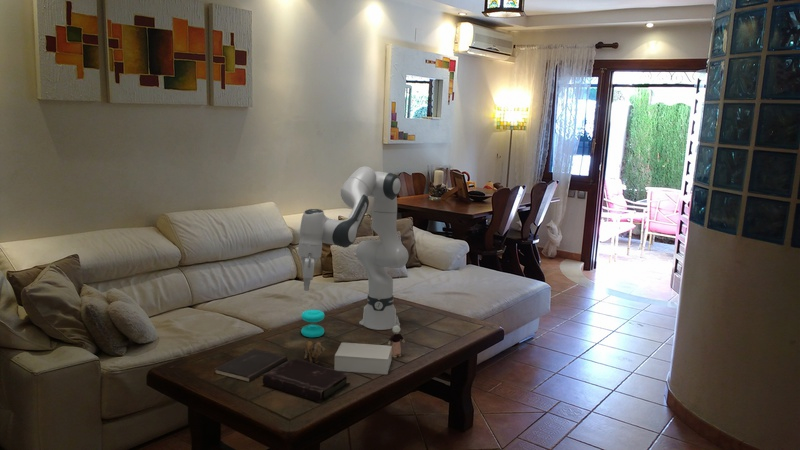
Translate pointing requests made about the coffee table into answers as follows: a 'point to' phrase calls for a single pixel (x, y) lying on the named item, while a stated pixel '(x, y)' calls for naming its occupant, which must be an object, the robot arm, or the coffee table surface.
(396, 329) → the grandmother figurine
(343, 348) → the pedestal
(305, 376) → the diary
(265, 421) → the coffee table surface
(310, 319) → the donuts
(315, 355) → the lion figurine
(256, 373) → the hardcover book
